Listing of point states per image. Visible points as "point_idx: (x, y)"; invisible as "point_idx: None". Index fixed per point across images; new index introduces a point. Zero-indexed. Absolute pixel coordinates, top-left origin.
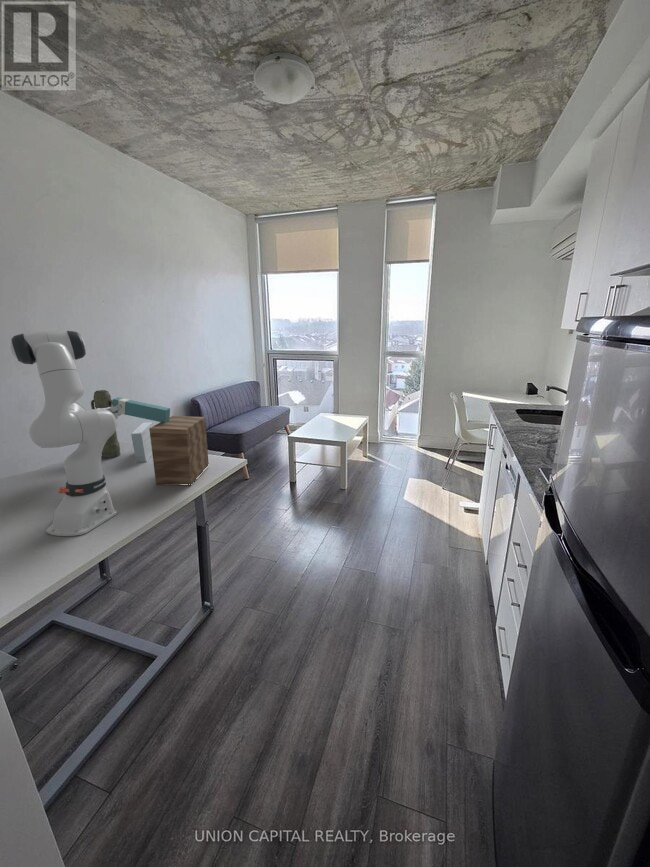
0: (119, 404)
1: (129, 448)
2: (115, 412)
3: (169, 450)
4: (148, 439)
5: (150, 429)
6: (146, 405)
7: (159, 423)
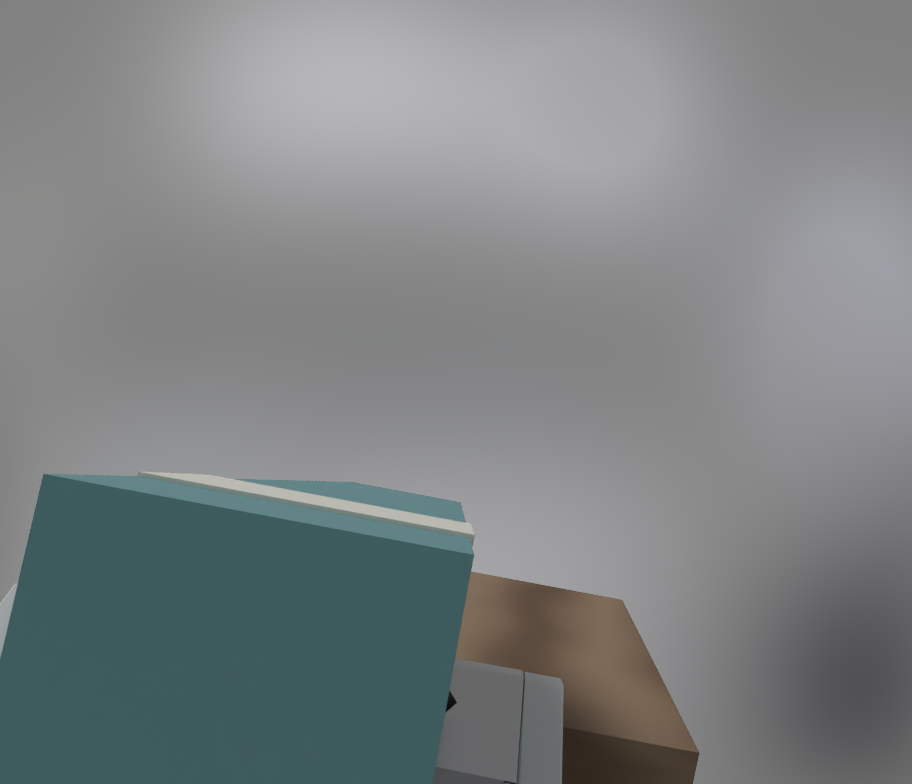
0: (504, 668)
1: None
2: None
3: None
4: None
5: (692, 759)
6: (427, 503)
7: None
